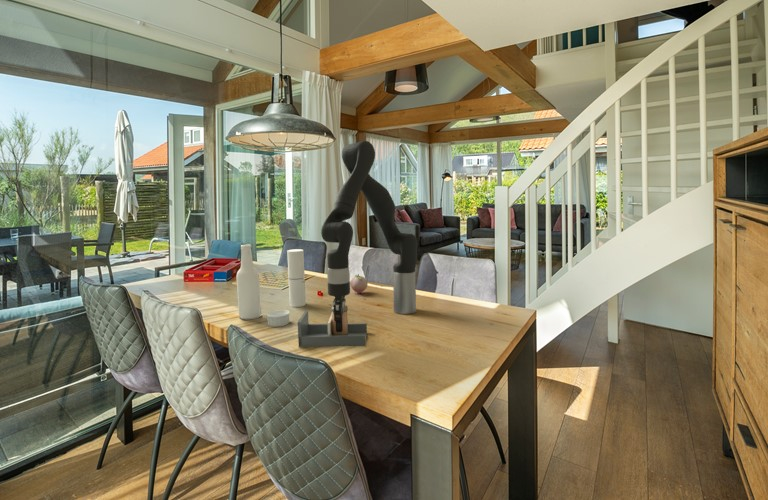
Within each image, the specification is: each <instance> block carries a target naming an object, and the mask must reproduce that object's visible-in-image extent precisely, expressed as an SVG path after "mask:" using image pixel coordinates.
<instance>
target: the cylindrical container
mask: <svg viewBox="0 0 768 500" xmlns="http://www.w3.org/2000/svg"><path fill="white" fill-rule="evenodd" d="M286 254H287V255H286V256H287V257H286V258H287V277H288V293H289V294H288V297H289V298H288V299H289V306H290V307H293V308H299V307H304V306H306V303H307V302H306V298H307V297H306V280H305V277H306V276H305V255H304V254H305V253H304V249H299V248H295V249H289V250H288V249H287V251H286Z"/></svg>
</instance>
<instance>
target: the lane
mask: <svg viewBox="0 0 768 500" xmlns="http://www.w3.org/2000/svg"><path fill="white" fill-rule="evenodd" d="M309 321H310V320H309V310H304V311H303V313H302V315H301V317H300V318H299V320H298V321H297V337H298V338H297V339H298V340H297V341H298V348H317V347H318V348H322V347H323V348H326V347H327V348H328V347H329V348H330V347H333V348H335V347H339V346H340V347H366V345H365V344H366V343H367V335H368V334H367V333H368V325H367V324H368V323H367V322H360V323H359V322H358V323H357V322H356V323H355V322H353V323H352V322H349V323H348V335H328V324H327V323H309ZM340 347H339V348H340Z"/></svg>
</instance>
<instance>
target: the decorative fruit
mask: <svg viewBox="0 0 768 500" xmlns="http://www.w3.org/2000/svg"><path fill="white" fill-rule="evenodd" d="M368 284H369V283H368V279H367V278H366V277H365V276H362V275H360V274H356V275H354V276H353V277H352V278H351V279H350V288H351V289H352V290H353V291H354V292H355V293H357V294H361V293H363V292H364V291H365V290H366V289H367V288H368Z"/></svg>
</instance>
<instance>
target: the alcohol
mask: <svg viewBox="0 0 768 500" xmlns="http://www.w3.org/2000/svg"><path fill="white" fill-rule="evenodd" d="M240 257H241V258H240V268H239V269H238V270H237V272H236V291H237V304H238V305H237V306H238V316H239V318H240V319H241V320H244V319H245V321H246V320H247V321H249V320H250V319H251V320H255V318H256V319H258V318H260V317H261V316H262V301H261V299H262V297H261V285H260V273H259V270H258V269H257V268H256V267H255V266H254V261H253V253H252V245H251V244H249V243H247V244H241V245H240Z"/></svg>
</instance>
